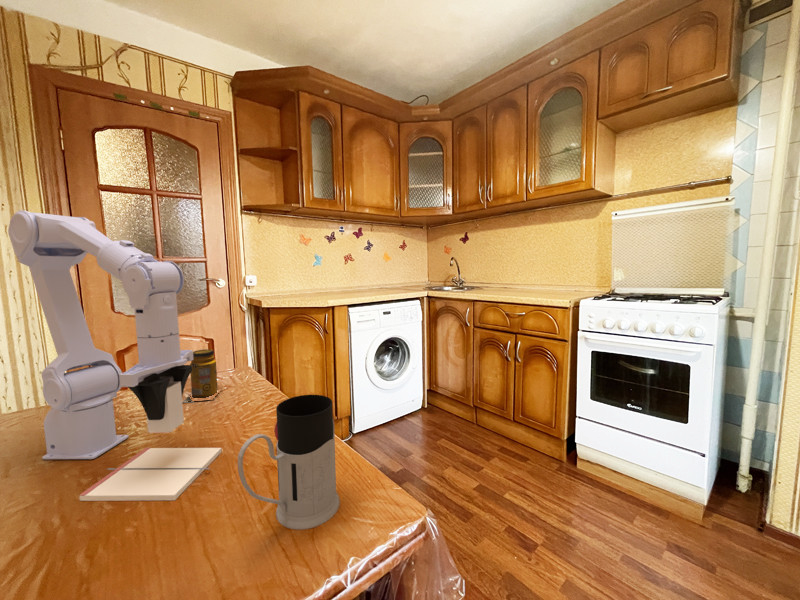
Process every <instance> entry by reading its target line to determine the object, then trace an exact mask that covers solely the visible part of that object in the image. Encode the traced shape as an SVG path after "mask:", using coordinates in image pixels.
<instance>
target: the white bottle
mask: <svg viewBox="0 0 800 600" xmlns="http://www.w3.org/2000/svg"><path fill="white" fill-rule="evenodd" d="M160 378H170V381H169V384H168V387H167V390H166V395H165V413H164V418H163V419H161V420H149V419H148V417H147V416H146V422H147V425H146V426H147V433H149V434H151V433H153V434H155V433H157V434H158V433H171V432H173V431H174V430H175V429H177V428H178V427H179V426H181V425H182V424H183V423H184V422H185V421H184V408H183V407H184V406H183V396H182V392H181V382H174V380H173V376H171V375H167V376H160Z"/></svg>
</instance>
